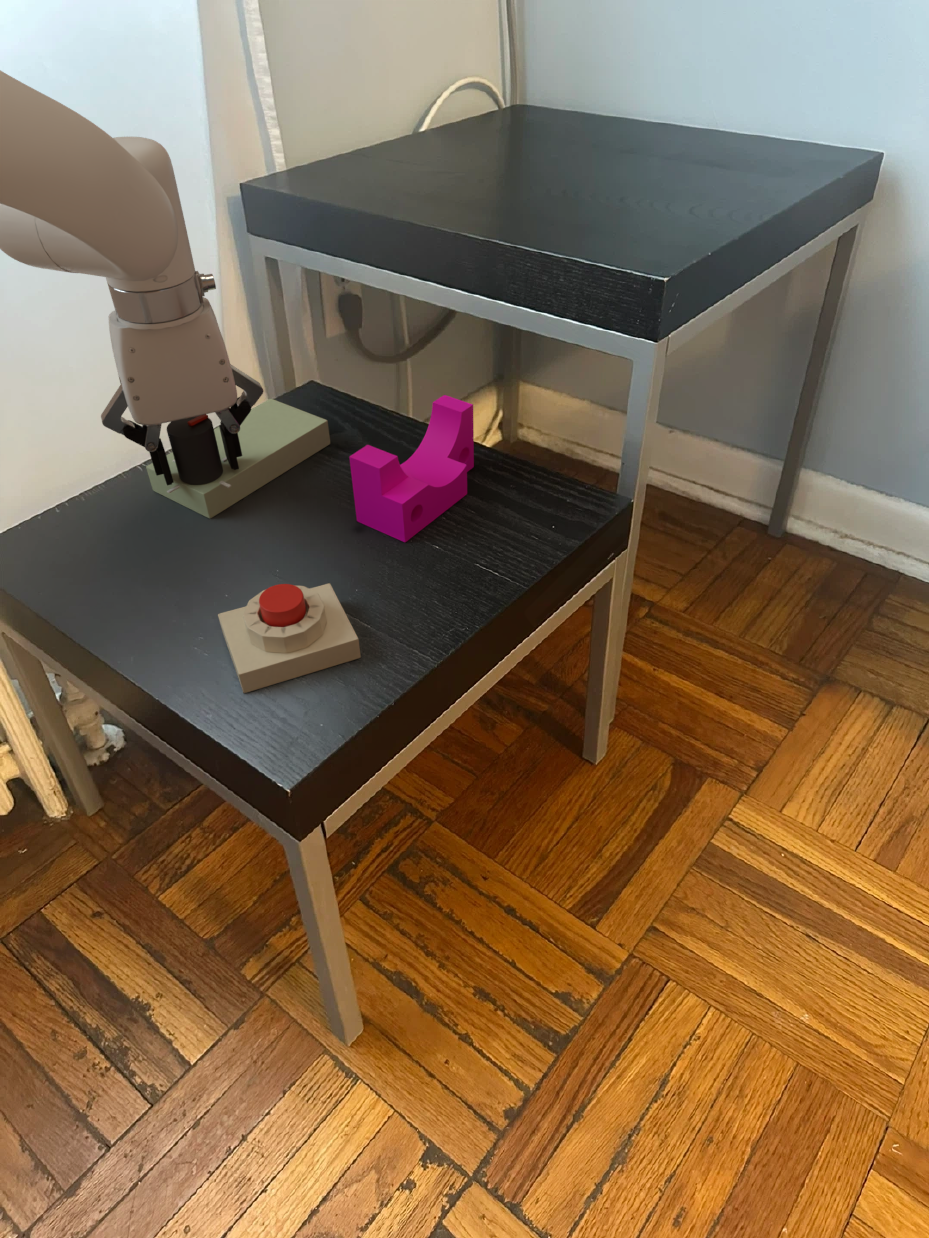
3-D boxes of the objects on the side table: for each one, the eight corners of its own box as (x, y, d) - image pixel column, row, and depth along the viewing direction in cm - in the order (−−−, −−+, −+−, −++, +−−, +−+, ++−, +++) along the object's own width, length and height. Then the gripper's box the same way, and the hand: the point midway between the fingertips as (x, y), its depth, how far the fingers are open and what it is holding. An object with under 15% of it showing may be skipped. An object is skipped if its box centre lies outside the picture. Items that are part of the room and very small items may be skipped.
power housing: (243, 693, 71) (234, 658, 68) (222, 632, 77) (213, 597, 74) (361, 657, 74) (356, 622, 71) (332, 601, 80) (327, 566, 77)
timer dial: (197, 490, 88) (184, 439, 84) (170, 475, 90) (156, 425, 86) (232, 471, 90) (220, 420, 87) (204, 457, 93) (192, 407, 89)
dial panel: (203, 532, 88) (196, 505, 86) (138, 498, 92) (130, 473, 90) (338, 447, 100) (335, 422, 97) (274, 421, 104) (270, 397, 102)
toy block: (405, 542, 86) (400, 477, 81) (356, 521, 89) (349, 456, 84) (492, 474, 95) (493, 411, 90) (446, 456, 98) (444, 394, 93)
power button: (268, 633, 71) (264, 616, 70) (257, 606, 74) (254, 590, 72) (311, 620, 72) (308, 604, 71) (299, 594, 75) (296, 578, 74)
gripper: (243, 267, 83) (274, 435, 95) (51, 298, 78) (109, 472, 90) (262, 295, 78) (292, 469, 90) (58, 331, 73) (119, 510, 85)
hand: (200, 469), depth 90 cm, fingers open, 6 cm apart
